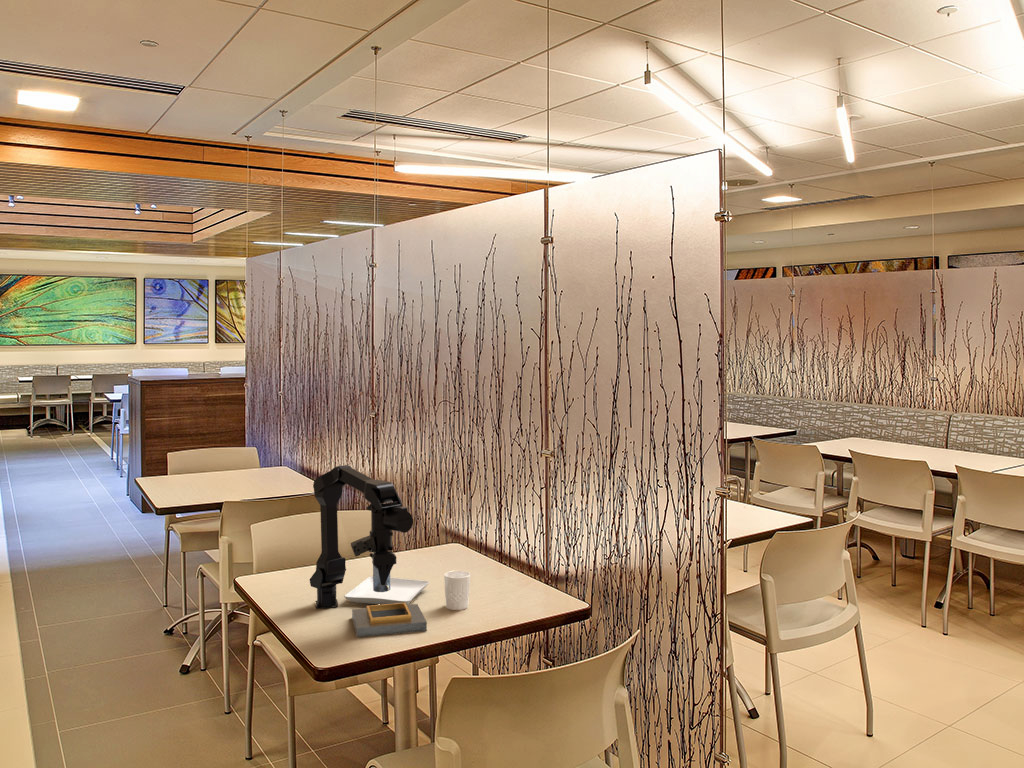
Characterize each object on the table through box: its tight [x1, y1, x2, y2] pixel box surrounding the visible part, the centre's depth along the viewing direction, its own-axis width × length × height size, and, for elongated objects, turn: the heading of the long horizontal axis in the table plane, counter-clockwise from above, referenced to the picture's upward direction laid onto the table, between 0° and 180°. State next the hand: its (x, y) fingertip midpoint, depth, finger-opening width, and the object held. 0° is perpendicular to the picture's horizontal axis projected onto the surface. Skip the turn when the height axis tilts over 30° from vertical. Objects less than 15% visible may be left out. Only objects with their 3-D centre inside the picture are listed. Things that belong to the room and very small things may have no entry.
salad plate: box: [343, 575, 430, 605], centre depth 244 cm, size 21×21×3 cm
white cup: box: [443, 570, 471, 611], centre depth 235 cm, size 8×8×10 cm
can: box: [372, 564, 391, 592], centre depth 218 cm, size 5×5×8 cm
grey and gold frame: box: [351, 603, 428, 638], centre depth 219 cm, size 16×19×4 cm
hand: (381, 582), depth 218 cm, fingers closed on can, 5 cm apart
